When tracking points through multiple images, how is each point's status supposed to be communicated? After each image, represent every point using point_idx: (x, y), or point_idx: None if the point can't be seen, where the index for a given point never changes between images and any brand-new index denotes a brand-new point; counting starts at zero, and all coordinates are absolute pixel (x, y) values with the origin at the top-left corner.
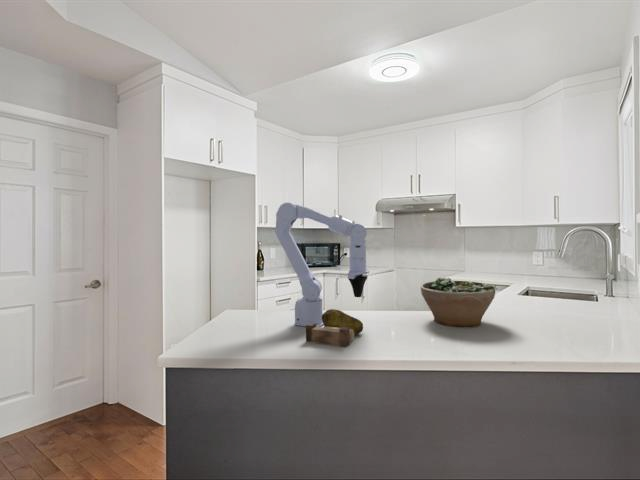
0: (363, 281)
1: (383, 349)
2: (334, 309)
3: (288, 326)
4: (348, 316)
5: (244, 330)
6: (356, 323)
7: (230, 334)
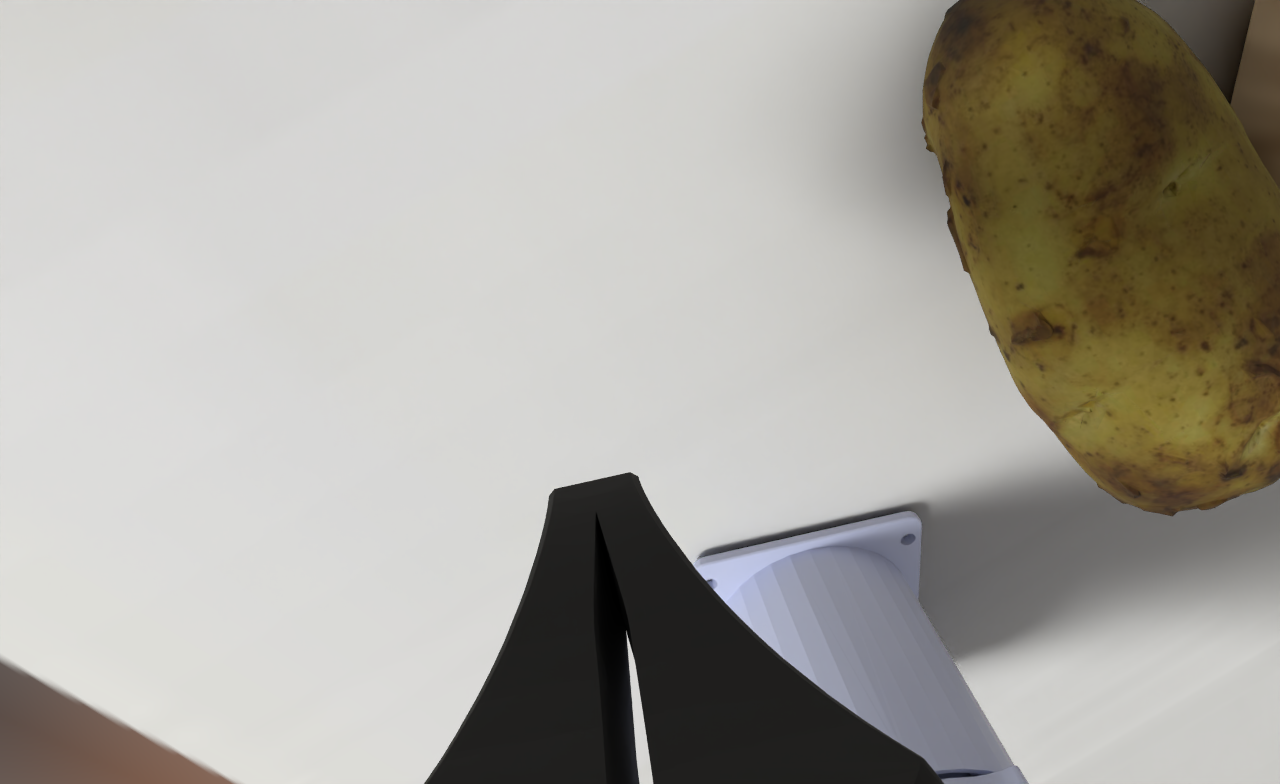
0: (696, 759)
1: None
2: (1225, 443)
3: None
4: (1152, 221)
5: (1135, 773)
6: (1162, 39)
7: (1236, 762)
